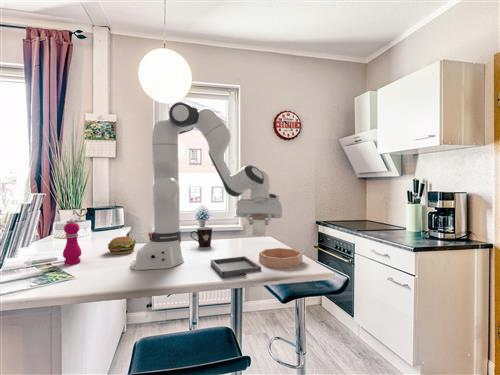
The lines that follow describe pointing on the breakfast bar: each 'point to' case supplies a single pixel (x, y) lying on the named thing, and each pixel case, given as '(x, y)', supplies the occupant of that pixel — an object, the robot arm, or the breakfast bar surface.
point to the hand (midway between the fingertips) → (258, 224)
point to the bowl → (280, 258)
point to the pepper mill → (71, 244)
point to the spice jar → (258, 225)
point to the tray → (234, 266)
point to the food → (121, 245)
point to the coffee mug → (204, 236)
